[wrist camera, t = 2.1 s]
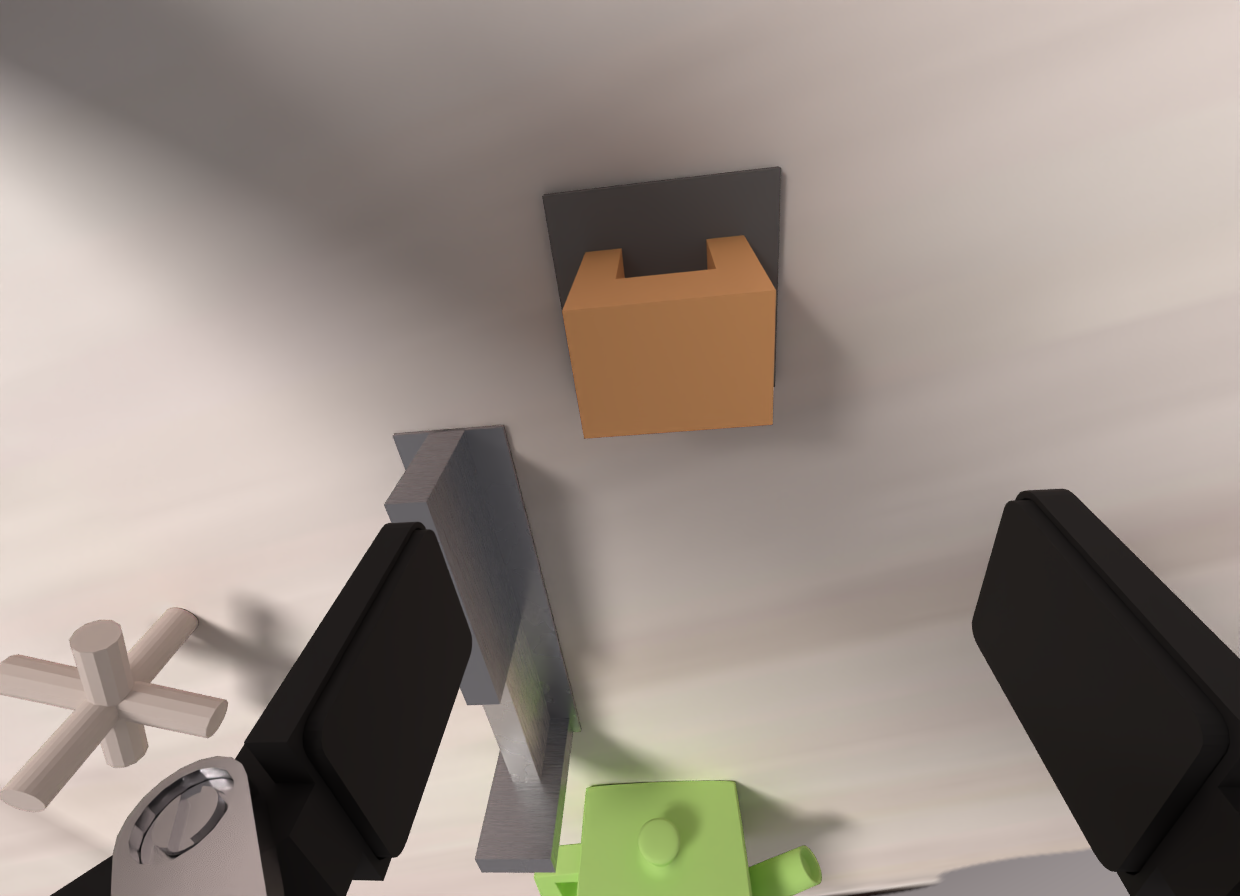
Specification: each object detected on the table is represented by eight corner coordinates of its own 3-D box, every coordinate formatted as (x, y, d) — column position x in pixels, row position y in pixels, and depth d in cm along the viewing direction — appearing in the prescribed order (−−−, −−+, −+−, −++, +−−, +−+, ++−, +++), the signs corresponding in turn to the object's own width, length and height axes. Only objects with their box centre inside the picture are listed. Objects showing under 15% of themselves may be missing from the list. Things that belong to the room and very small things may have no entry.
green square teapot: (804, 756, 39) (848, 929, 30) (801, 837, 43) (838, 1005, 35) (539, 768, 40) (513, 935, 32) (565, 844, 45) (547, 1006, 37)
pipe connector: (270, 581, 31) (128, 766, 23) (272, 689, 37) (157, 872, 28) (72, 533, 30) (-154, 709, 22) (103, 651, 35) (-70, 831, 27)
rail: (394, 433, 26) (302, 558, 19) (503, 425, 25) (448, 550, 19) (505, 730, 38) (472, 872, 31) (581, 728, 37) (565, 872, 30)
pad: (544, 194, 20) (542, 196, 20) (778, 166, 19) (780, 168, 19) (579, 398, 24) (578, 402, 24) (773, 382, 24) (774, 386, 23)
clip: (585, 252, 21) (562, 311, 16) (743, 235, 20) (775, 290, 15) (600, 355, 23) (584, 438, 18) (744, 342, 22) (772, 424, 17)
